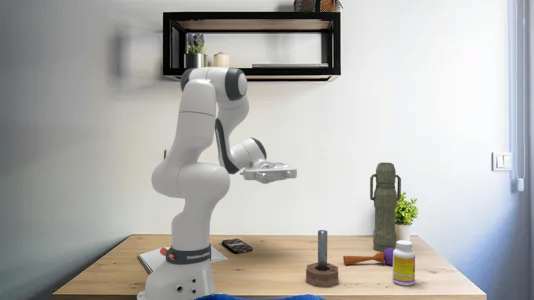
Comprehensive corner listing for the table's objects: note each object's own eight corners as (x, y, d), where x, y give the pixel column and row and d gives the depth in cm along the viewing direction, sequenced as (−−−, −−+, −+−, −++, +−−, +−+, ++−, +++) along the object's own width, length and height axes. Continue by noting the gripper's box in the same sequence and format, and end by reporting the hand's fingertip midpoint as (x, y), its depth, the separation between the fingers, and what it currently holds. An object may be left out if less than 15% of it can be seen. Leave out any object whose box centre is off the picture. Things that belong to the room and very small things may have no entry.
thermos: (403, 252, 151) (404, 163, 150) (373, 252, 151) (374, 164, 149) (395, 245, 160) (396, 162, 158) (367, 246, 160) (368, 162, 158)
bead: (321, 289, 116) (321, 276, 116) (300, 279, 125) (300, 266, 124) (344, 281, 122) (344, 269, 122) (322, 272, 130) (322, 260, 130)
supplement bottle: (416, 287, 118) (417, 246, 117) (393, 285, 119) (394, 244, 119) (412, 279, 125) (413, 239, 124) (391, 277, 126) (391, 238, 125)
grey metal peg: (322, 283, 121) (322, 232, 121) (315, 280, 124) (315, 230, 123) (328, 280, 123) (329, 231, 122) (322, 277, 126) (322, 229, 125)
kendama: (341, 251, 142) (395, 246, 142) (343, 267, 141) (397, 263, 141) (345, 253, 136) (401, 248, 136) (346, 270, 135) (403, 265, 135)
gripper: (238, 164, 146) (248, 168, 133) (288, 163, 152) (302, 166, 139) (238, 181, 146) (248, 186, 133) (288, 178, 153) (302, 183, 140)
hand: (276, 176), depth 136 cm, fingers open, 8 cm apart
